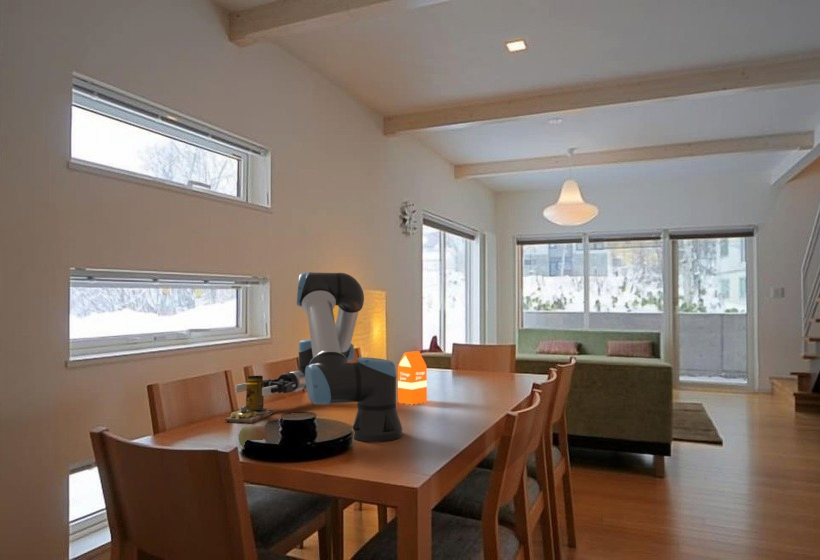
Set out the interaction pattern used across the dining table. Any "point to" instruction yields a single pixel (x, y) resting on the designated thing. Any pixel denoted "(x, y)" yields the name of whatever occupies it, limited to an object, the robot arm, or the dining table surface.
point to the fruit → (252, 433)
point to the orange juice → (412, 379)
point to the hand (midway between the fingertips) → (249, 390)
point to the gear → (244, 413)
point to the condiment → (254, 393)
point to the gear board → (260, 415)
